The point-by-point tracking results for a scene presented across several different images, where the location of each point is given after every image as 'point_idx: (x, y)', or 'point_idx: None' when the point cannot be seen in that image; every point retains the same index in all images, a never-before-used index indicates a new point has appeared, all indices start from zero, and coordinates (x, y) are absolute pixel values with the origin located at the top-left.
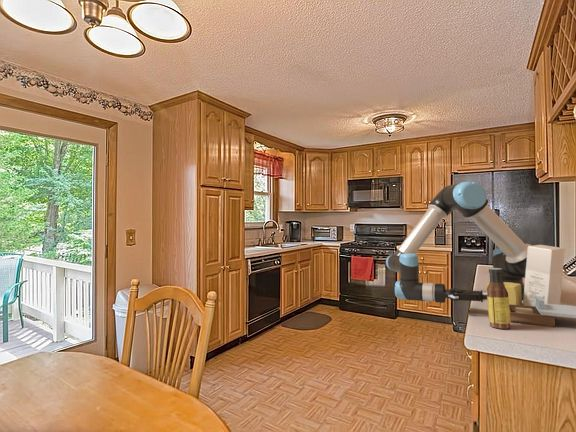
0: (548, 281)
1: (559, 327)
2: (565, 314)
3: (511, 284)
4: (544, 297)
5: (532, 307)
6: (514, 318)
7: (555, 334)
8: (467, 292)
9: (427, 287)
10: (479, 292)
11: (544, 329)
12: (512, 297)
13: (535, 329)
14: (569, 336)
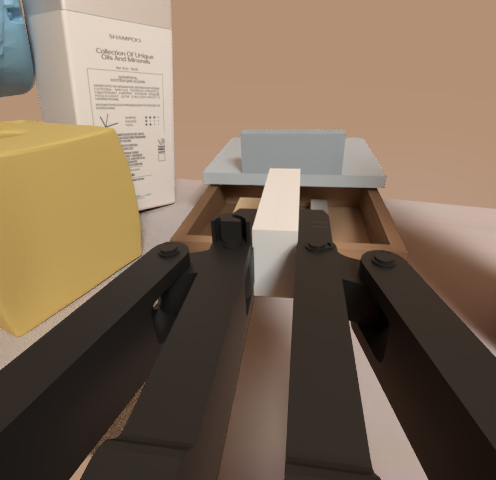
0: (170, 66)
1: None
2: (372, 154)
3: (21, 129)
4: (163, 144)
5: (216, 194)
6: None
7: (471, 222)
8: (300, 367)
9: None
10: (237, 249)
11: (422, 231)
12: (121, 192)
13: (449, 248)
14: (461, 207)
